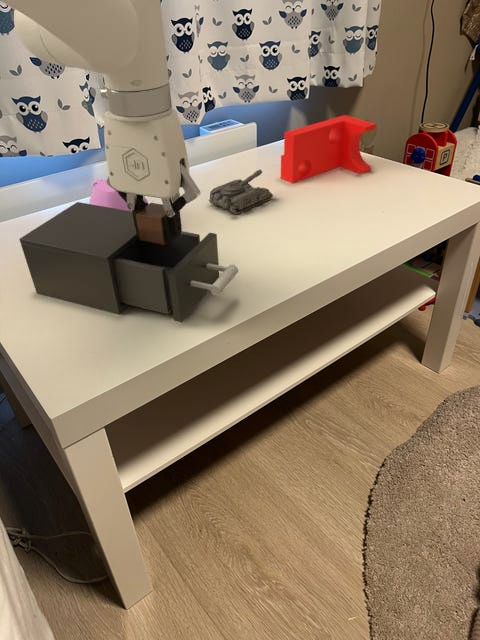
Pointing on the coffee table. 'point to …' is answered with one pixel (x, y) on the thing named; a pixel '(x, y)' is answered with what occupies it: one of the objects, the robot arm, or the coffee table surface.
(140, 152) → the robot arm
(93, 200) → the teapot
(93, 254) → the small drawer cabinet
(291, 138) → the bracket
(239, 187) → the tank toy
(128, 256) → the pulled-out drawer
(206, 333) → the coffee table surface
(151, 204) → the block
